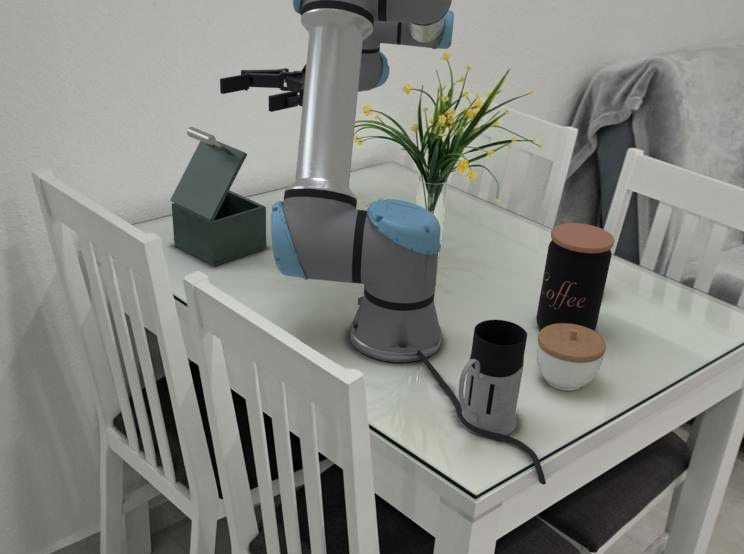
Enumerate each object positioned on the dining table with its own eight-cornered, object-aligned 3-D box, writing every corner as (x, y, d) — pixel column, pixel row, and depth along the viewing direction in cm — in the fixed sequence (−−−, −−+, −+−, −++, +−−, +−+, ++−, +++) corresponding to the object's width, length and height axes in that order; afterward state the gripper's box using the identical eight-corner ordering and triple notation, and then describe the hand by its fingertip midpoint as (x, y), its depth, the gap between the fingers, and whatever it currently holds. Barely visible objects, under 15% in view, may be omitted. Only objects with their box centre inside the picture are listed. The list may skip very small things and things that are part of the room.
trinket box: (595, 367, 151) (606, 318, 146) (599, 402, 142) (611, 351, 137) (531, 360, 152) (539, 310, 147) (531, 394, 143) (540, 342, 138)
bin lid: (205, 137, 173) (180, 119, 167) (247, 154, 167) (222, 136, 161) (172, 202, 173) (145, 186, 167) (213, 221, 167) (186, 206, 161)
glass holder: (527, 418, 137) (542, 331, 129) (478, 462, 127) (492, 370, 119) (477, 396, 141) (489, 311, 133) (427, 437, 131) (436, 348, 123)
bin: (227, 229, 187) (225, 188, 182) (266, 248, 180) (266, 206, 176) (174, 246, 178) (171, 203, 173) (213, 266, 172) (211, 223, 167)
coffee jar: (522, 324, 162) (538, 230, 152) (561, 309, 168) (578, 218, 159) (568, 350, 156) (587, 253, 146) (607, 332, 162) (627, 239, 152)
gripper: (371, 112, 178) (291, 132, 164) (284, 83, 191) (203, 99, 177) (373, 73, 174) (291, 90, 160) (284, 46, 187) (201, 59, 173)
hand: (244, 95), depth 168 cm, fingers open, 13 cm apart
